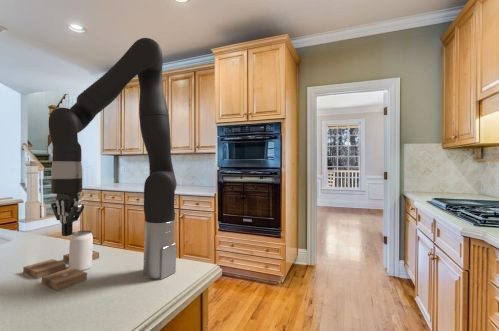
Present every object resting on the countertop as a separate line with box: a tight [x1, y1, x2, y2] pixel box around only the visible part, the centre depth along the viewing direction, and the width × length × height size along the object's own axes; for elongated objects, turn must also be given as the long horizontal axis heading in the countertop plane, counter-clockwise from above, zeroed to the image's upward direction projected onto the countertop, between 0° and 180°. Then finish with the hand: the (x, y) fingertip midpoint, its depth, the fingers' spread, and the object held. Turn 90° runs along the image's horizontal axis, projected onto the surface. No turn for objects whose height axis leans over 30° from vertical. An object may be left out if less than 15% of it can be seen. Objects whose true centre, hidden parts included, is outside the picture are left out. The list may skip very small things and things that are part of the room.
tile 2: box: [22, 258, 67, 280], centre depth 82 cm, size 8×8×2 cm
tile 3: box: [62, 250, 100, 263], centre depth 93 cm, size 8×8×2 cm
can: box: [68, 230, 94, 272], centre depth 85 cm, size 6×6×12 cm
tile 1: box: [41, 267, 88, 291], centre depth 75 cm, size 8×8×2 cm
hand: (67, 235), depth 75 cm, fingers closed
